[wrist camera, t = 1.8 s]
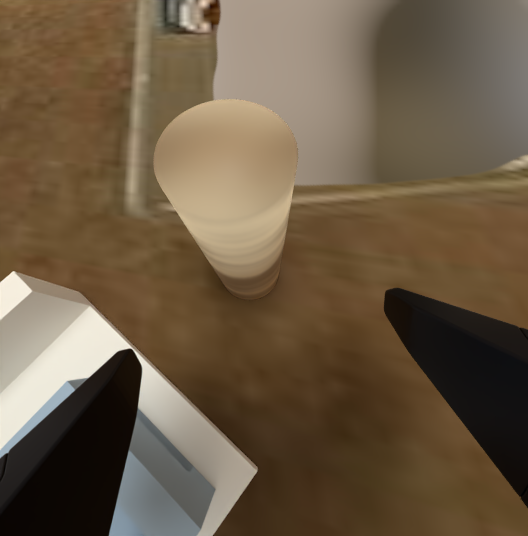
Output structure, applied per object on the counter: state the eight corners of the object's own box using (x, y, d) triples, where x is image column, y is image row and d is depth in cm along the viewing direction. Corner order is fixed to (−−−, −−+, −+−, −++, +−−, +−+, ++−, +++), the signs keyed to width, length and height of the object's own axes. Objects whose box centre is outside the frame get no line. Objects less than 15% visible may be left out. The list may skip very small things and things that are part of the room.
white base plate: (257, 467, 18) (254, 522, 12) (71, 734, 14) (-60, 992, 8) (79, 292, 22) (13, 271, 16) (-103, 465, 18) (-274, 517, 12)
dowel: (284, 294, 22) (313, 203, 8) (225, 305, 21) (158, 229, 8) (272, 240, 23) (281, 90, 10) (217, 249, 23) (149, 110, 10)
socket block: (215, 489, 17) (201, 529, 13) (82, 674, 14) (16, 789, 11) (106, 374, 19) (66, 381, 15) (-26, 517, 17) (-113, 566, 13)
